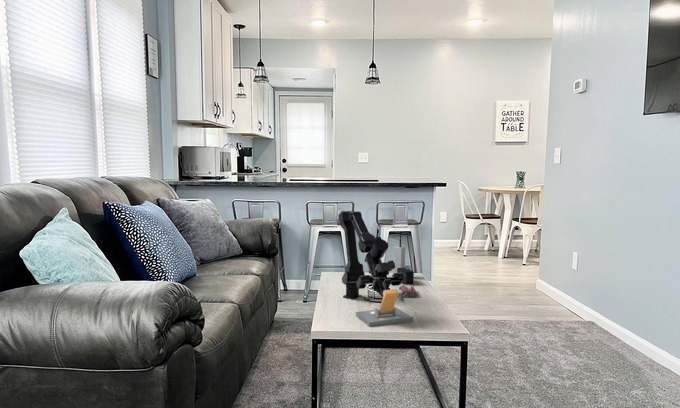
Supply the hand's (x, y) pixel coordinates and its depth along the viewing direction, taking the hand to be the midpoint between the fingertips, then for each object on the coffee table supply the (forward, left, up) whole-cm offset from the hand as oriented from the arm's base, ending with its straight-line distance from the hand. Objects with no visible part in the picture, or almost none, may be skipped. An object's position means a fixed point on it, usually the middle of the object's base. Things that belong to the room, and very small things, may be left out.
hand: (387, 299), depth 169 cm
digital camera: (-60, -17, -8) cm, 63 cm away
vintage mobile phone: (-68, -24, -8) cm, 72 cm away
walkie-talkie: (-37, -7, -9) cm, 38 cm away
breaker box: (-2, -2, -8) cm, 9 cm away
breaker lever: (-1, -1, -6) cm, 6 cm away
